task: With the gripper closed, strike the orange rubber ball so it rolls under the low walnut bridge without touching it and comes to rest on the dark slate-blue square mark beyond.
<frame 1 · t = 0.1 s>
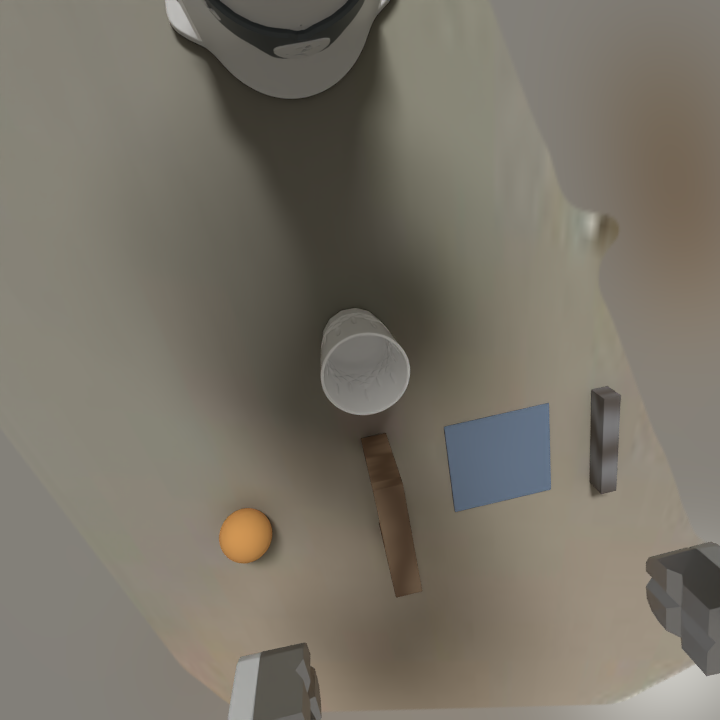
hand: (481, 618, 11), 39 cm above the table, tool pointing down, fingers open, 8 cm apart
bridge: (383, 486, 57), on the table
ball: (246, 535, 53), on the table
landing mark: (499, 459, 57), on the table
white cup: (353, 337, 49), on the table
grey rectangular bar: (598, 436, 58), on the table
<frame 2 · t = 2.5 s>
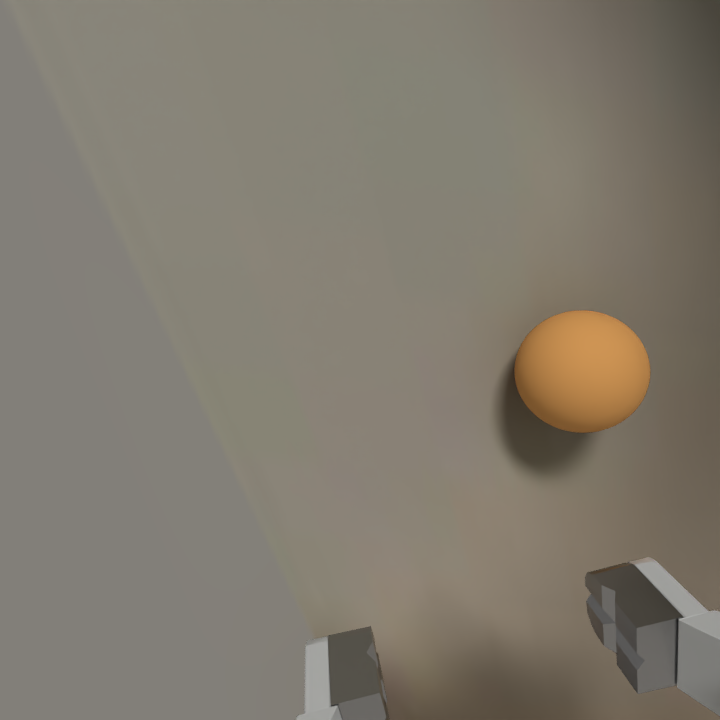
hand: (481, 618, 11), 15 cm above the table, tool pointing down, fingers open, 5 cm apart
ball: (578, 371, 23), on the table
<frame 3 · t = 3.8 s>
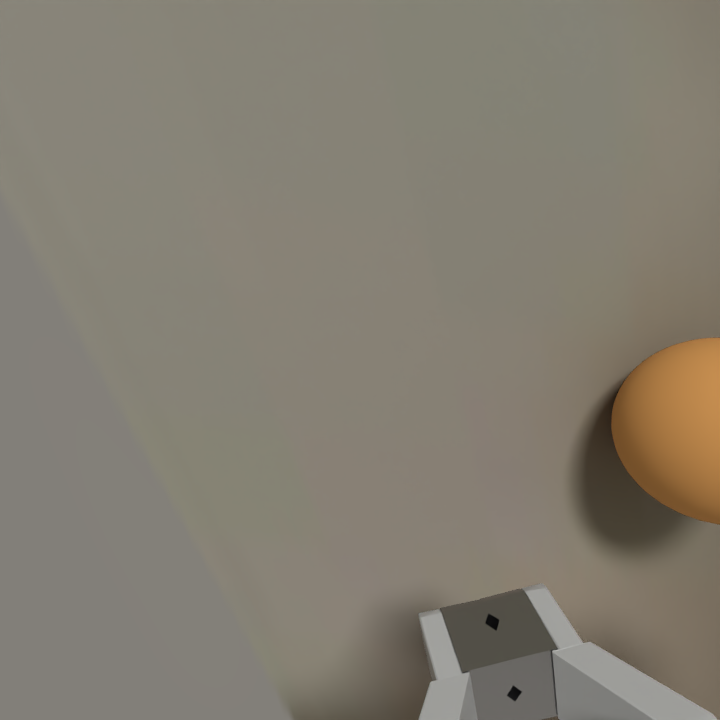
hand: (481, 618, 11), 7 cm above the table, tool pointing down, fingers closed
ball: (715, 428, 15), on the table
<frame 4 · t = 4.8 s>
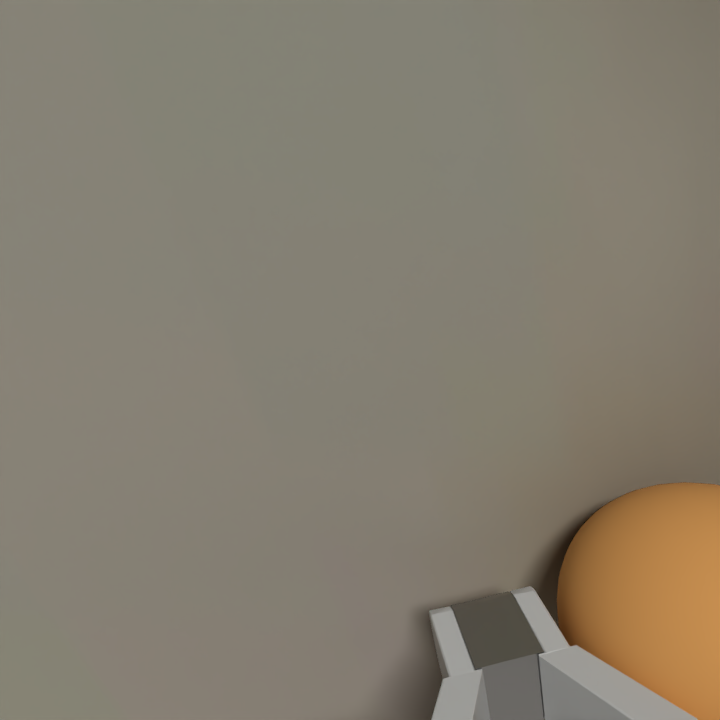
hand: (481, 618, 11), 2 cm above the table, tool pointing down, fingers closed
ball: (712, 630, 10), on the table, touching gripper
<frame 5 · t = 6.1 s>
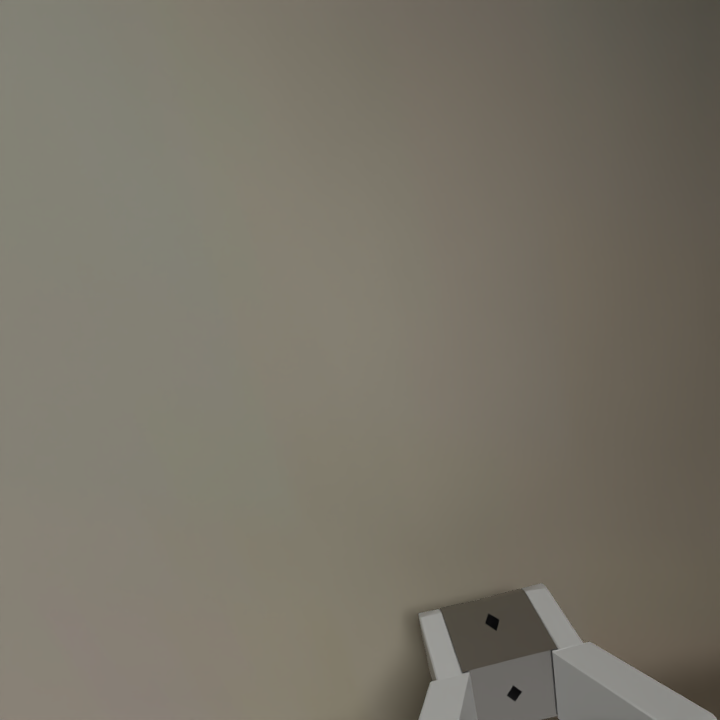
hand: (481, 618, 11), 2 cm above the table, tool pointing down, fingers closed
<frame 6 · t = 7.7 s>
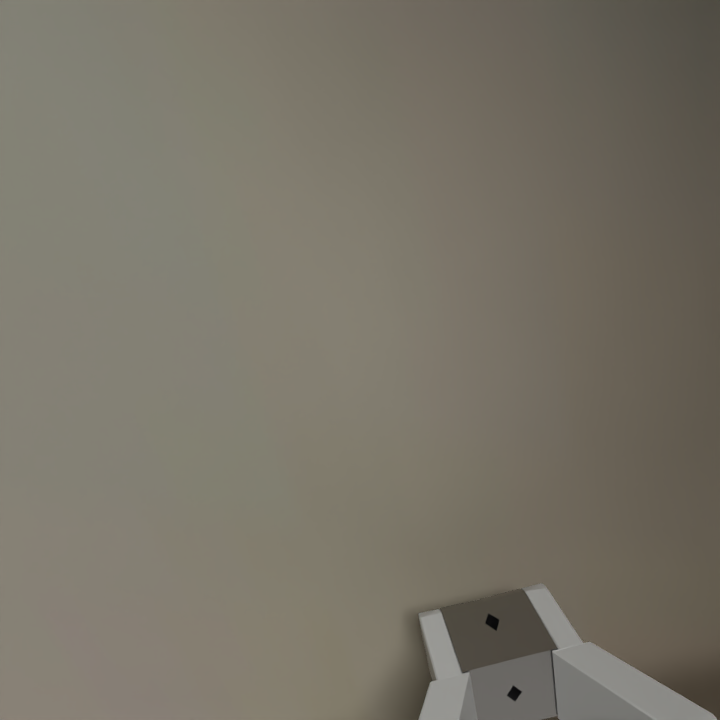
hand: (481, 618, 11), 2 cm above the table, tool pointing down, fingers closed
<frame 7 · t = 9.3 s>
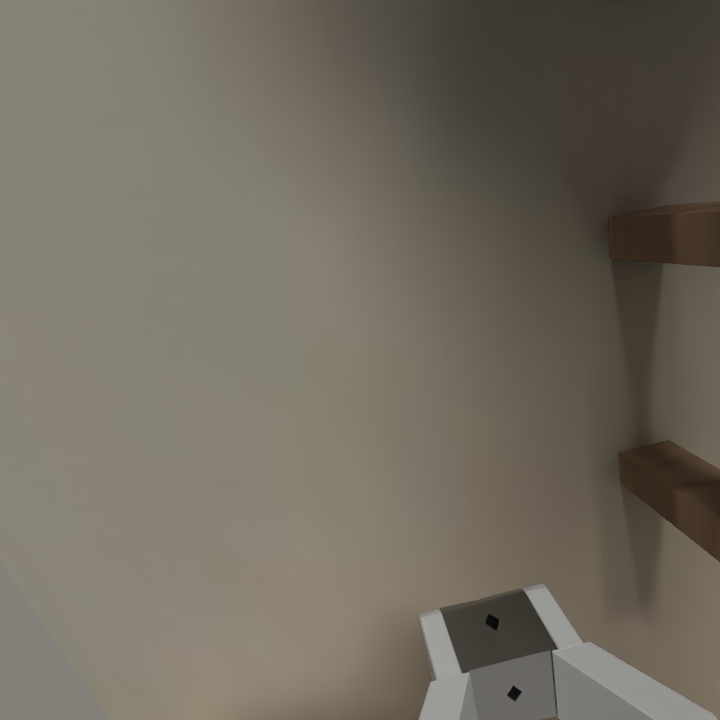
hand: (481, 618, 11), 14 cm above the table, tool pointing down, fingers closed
bridge: (641, 355, 25), on the table
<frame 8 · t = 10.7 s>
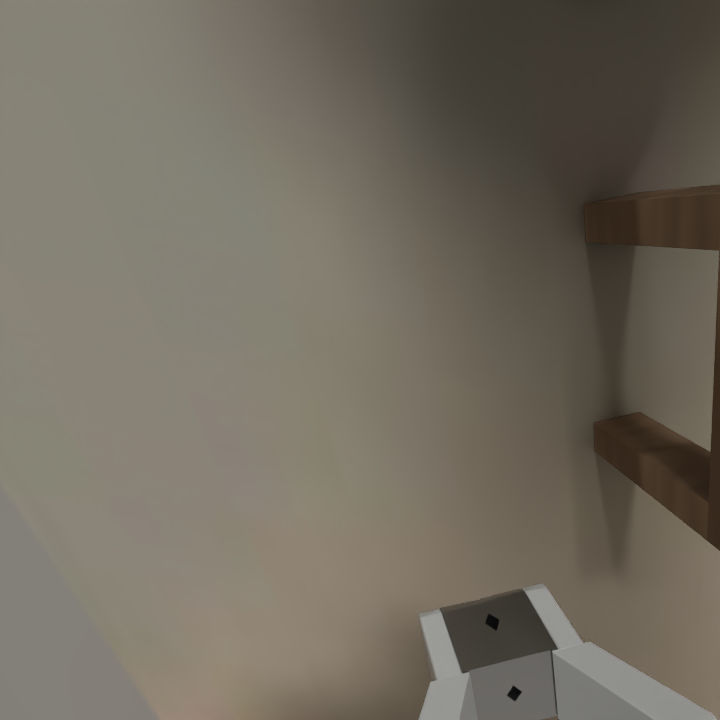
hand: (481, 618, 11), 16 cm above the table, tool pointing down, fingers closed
bridge: (614, 332, 27), on the table
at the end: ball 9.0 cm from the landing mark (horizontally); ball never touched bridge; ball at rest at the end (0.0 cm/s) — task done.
